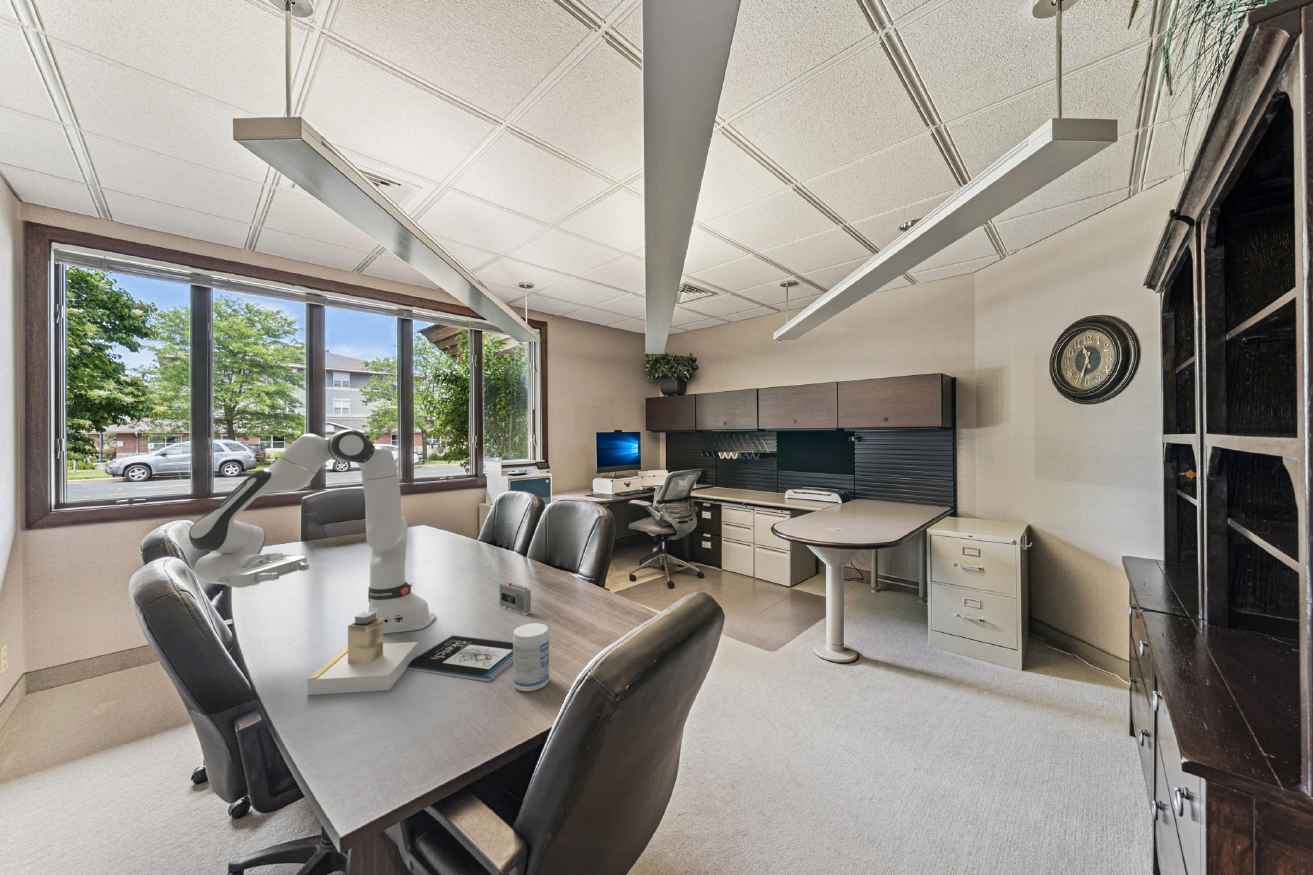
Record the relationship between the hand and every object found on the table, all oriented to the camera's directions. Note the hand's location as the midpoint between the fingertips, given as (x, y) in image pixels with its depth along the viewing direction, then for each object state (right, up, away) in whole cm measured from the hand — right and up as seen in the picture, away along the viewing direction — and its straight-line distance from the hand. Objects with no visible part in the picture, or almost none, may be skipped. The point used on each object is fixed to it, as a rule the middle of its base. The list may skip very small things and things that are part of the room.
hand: (292, 571), depth 135 cm
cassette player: (+51, -28, +46) cm, 74 cm away
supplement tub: (+72, -28, -8) cm, 77 cm away
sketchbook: (+49, -29, +7) cm, 57 cm away
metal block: (+23, -15, -3) cm, 28 cm away
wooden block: (+23, -24, -3) cm, 33 cm away
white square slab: (+24, -28, -3) cm, 37 cm away
